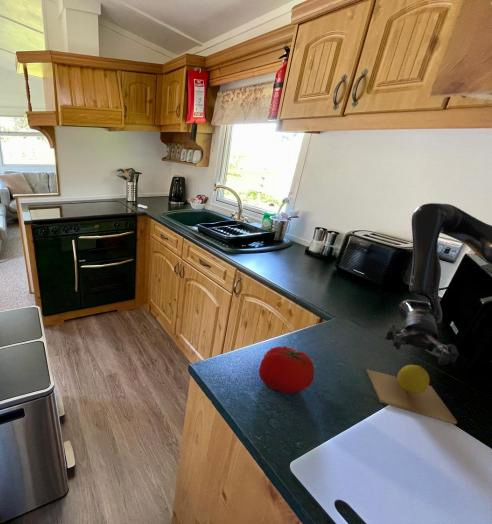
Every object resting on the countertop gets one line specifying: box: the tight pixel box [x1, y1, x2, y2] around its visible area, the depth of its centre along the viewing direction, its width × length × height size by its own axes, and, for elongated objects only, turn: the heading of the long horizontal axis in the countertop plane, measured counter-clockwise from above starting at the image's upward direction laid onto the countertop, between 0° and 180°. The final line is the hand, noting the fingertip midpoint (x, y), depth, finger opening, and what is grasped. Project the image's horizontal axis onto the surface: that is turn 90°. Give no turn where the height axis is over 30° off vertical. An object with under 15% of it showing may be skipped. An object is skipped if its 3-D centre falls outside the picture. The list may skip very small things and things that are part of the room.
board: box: [365, 368, 458, 425], centre depth 72 cm, size 14×12×1 cm
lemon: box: [396, 364, 431, 394], centre depth 70 cm, size 6×6×8 cm
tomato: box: [258, 344, 315, 394], centre depth 71 cm, size 11×13×10 cm
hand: (419, 353), depth 74 cm, fingers open, 8 cm apart
